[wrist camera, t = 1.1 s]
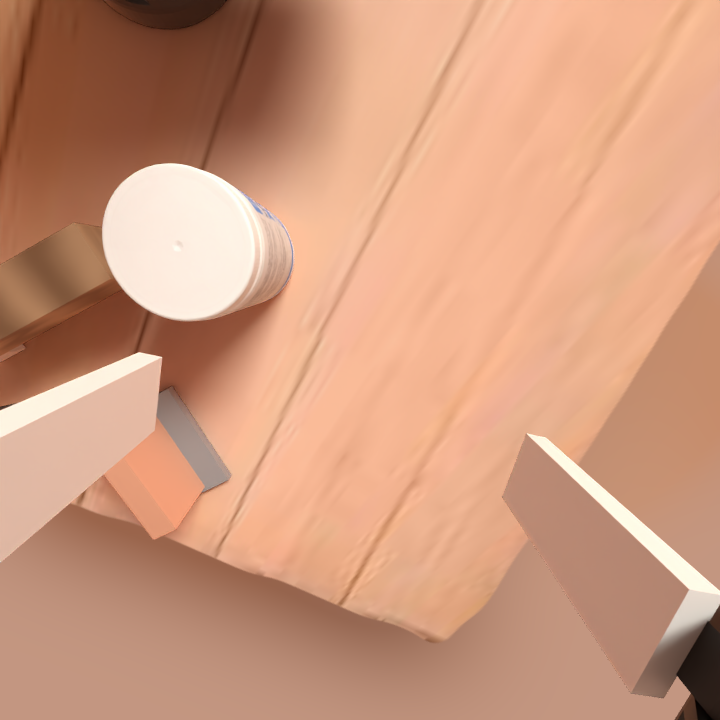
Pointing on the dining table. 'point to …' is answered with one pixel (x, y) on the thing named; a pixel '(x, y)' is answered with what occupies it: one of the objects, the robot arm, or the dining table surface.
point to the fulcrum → (167, 468)
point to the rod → (52, 283)
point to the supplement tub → (193, 244)
